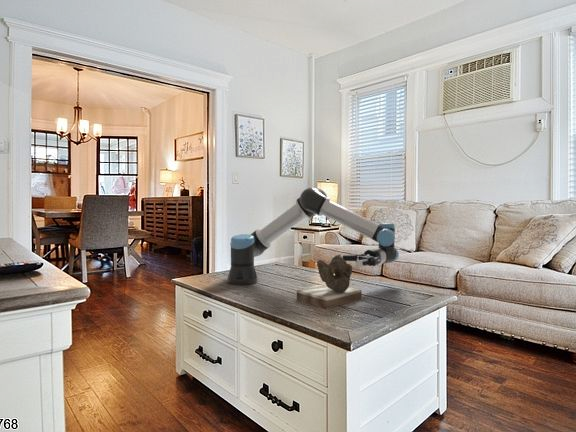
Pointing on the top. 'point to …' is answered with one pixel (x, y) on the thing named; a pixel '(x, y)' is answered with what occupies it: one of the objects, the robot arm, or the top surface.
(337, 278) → the decorative stone
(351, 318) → the top surface
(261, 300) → the top surface
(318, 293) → the block
